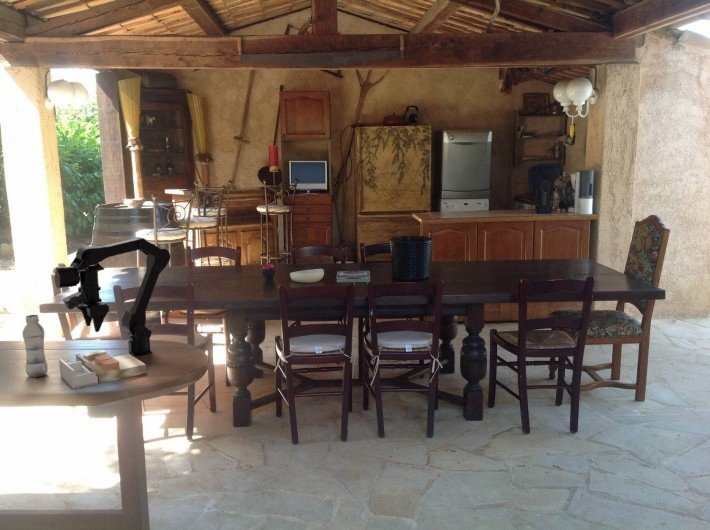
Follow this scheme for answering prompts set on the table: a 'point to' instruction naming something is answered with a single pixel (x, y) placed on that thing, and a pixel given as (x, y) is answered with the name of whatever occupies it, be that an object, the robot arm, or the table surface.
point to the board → (118, 369)
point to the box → (77, 374)
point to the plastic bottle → (34, 347)
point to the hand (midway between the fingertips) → (92, 328)
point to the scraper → (89, 356)
